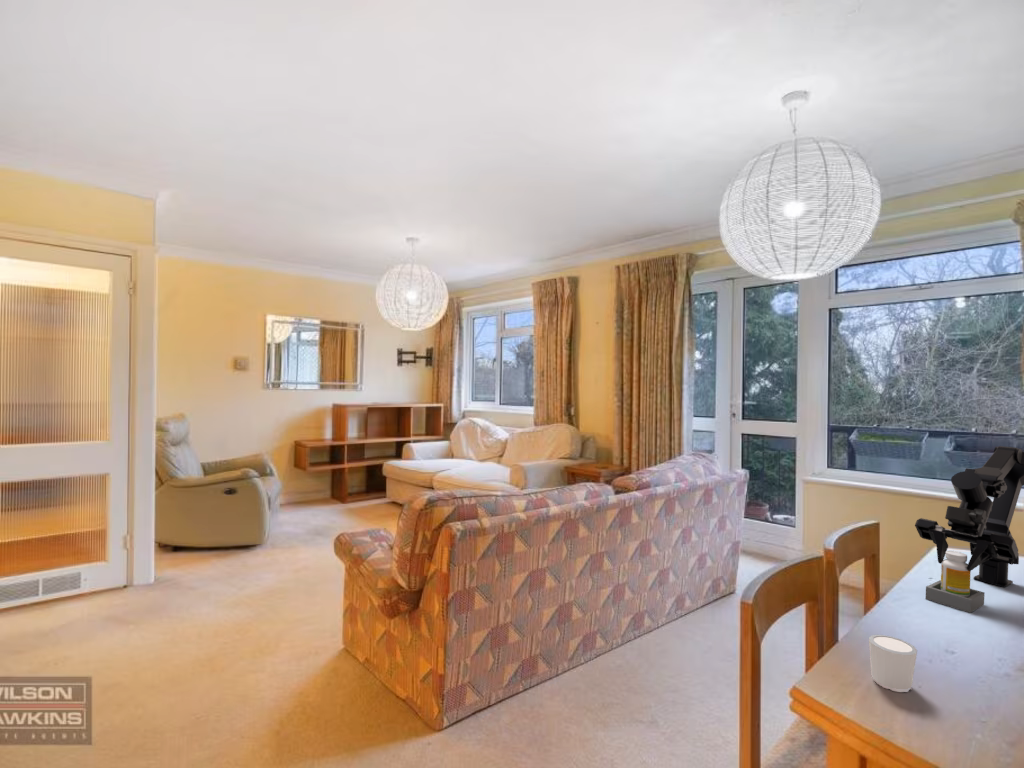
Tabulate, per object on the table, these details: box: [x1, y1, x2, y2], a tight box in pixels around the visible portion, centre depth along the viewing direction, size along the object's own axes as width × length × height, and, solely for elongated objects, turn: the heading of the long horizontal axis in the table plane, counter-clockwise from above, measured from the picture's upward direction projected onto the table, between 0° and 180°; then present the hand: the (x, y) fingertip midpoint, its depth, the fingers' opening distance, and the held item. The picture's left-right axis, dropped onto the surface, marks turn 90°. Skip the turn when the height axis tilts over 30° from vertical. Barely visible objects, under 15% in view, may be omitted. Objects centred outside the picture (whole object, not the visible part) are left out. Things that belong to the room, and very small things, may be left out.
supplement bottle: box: [940, 550, 972, 597], centre depth 126 cm, size 5×5×10 cm
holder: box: [925, 579, 985, 614], centre depth 126 cm, size 9×9×3 cm
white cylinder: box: [868, 634, 918, 689], centre depth 91 cm, size 7×7×7 cm
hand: (953, 566), depth 125 cm, fingers closed on supplement bottle, 5 cm apart
